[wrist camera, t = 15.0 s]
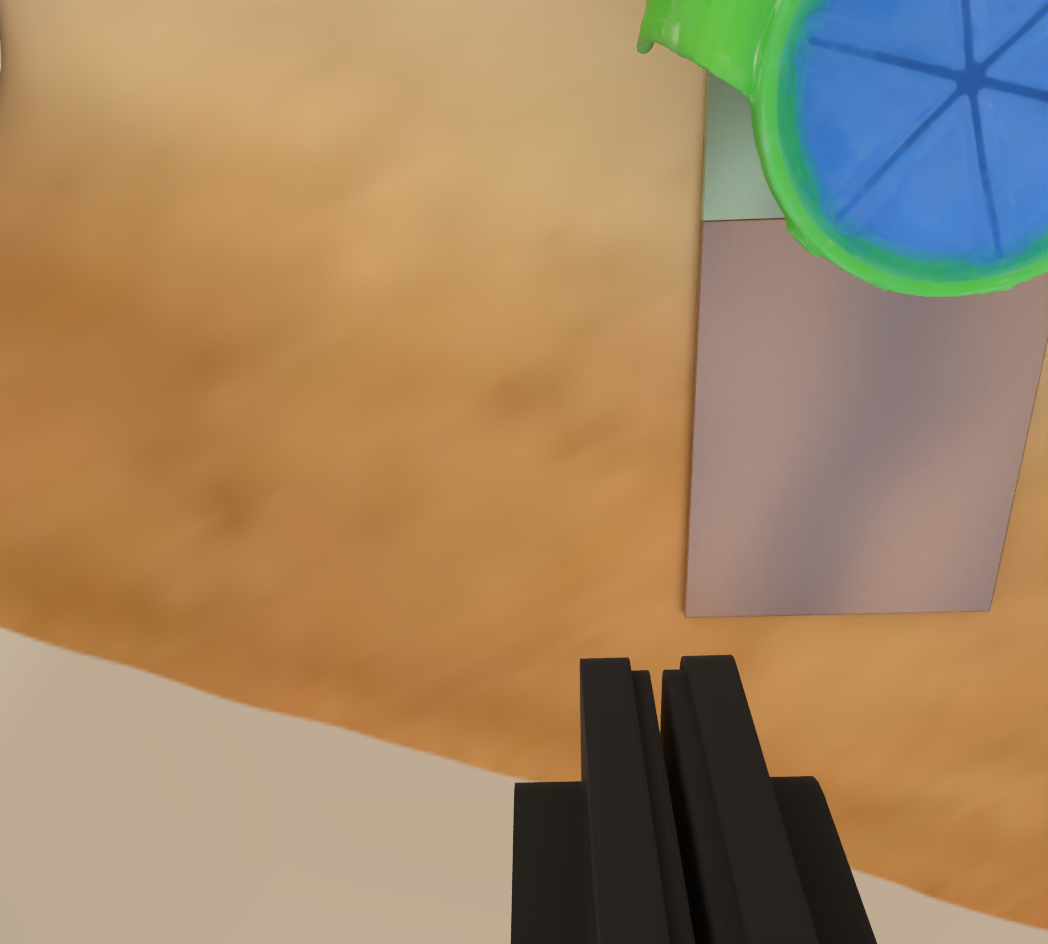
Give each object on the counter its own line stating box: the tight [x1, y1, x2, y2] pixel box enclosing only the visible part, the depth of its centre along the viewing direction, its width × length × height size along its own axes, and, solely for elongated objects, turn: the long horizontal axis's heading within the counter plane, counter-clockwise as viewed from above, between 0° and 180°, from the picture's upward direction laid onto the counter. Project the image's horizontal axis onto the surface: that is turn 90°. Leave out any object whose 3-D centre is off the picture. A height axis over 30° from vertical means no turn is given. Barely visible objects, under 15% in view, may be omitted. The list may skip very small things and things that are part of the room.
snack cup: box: [637, 0, 1048, 297], centre depth 27 cm, size 16×10×10 cm
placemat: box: [684, 70, 1048, 618], centre depth 36 cm, size 13×29×1 cm, turn 2°
